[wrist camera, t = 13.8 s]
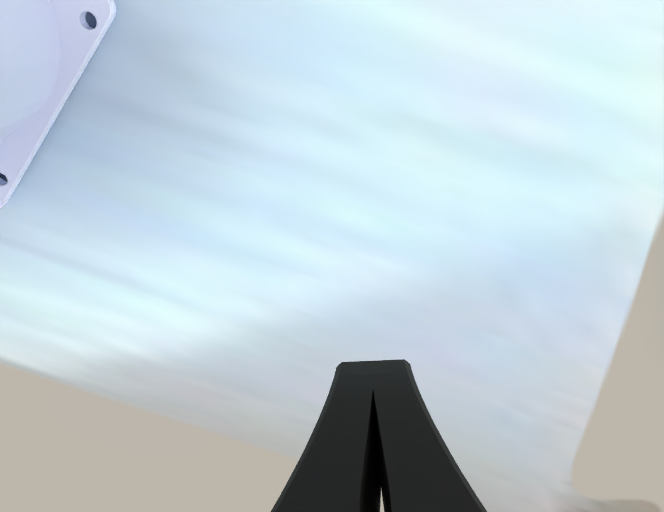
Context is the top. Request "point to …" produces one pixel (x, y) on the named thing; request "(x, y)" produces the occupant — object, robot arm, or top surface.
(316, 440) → the robot arm
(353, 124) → the top surface
